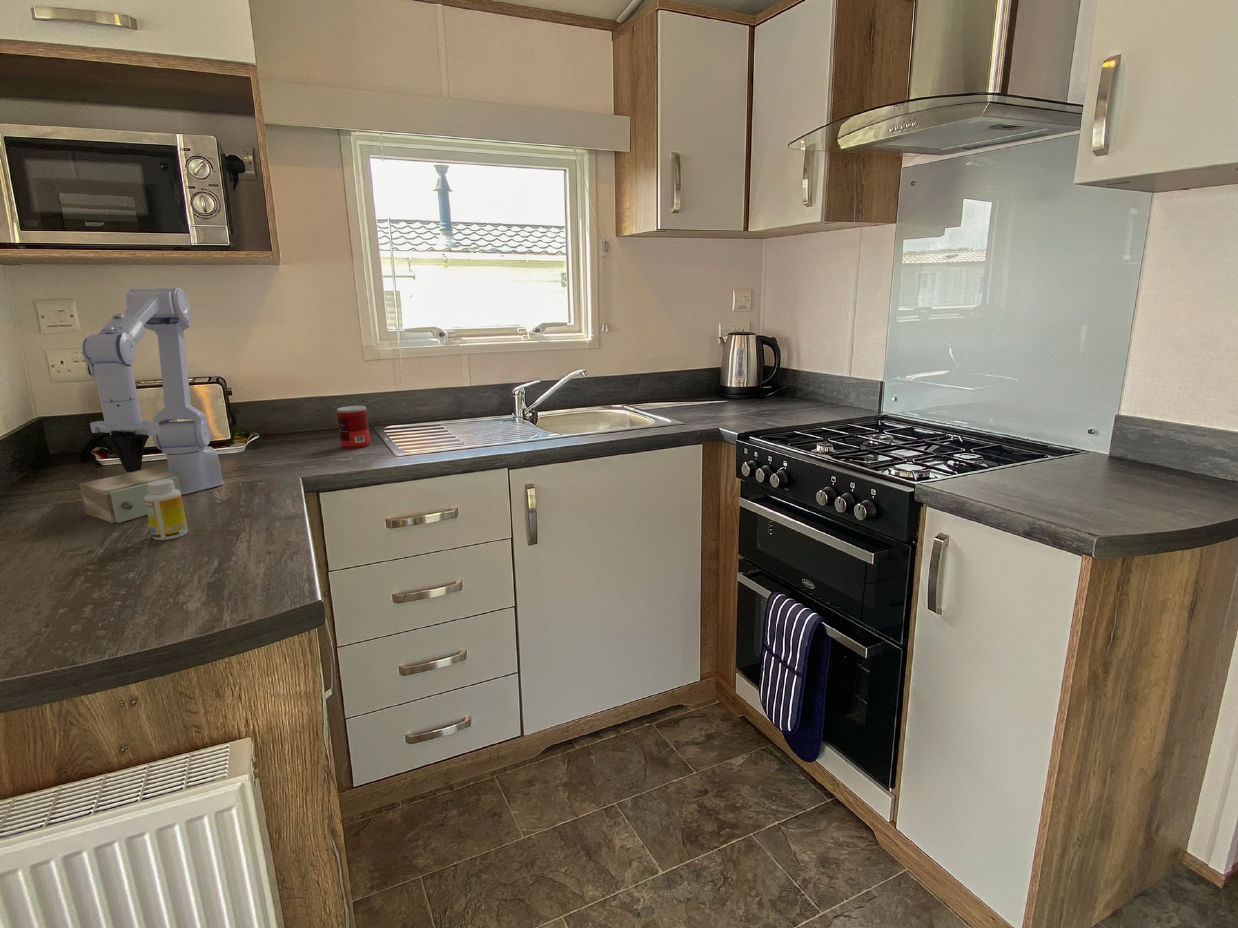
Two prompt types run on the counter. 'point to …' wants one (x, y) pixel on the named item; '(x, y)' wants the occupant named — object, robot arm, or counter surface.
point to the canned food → (353, 427)
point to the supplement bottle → (165, 510)
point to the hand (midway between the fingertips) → (133, 470)
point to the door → (133, 501)
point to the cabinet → (99, 490)
